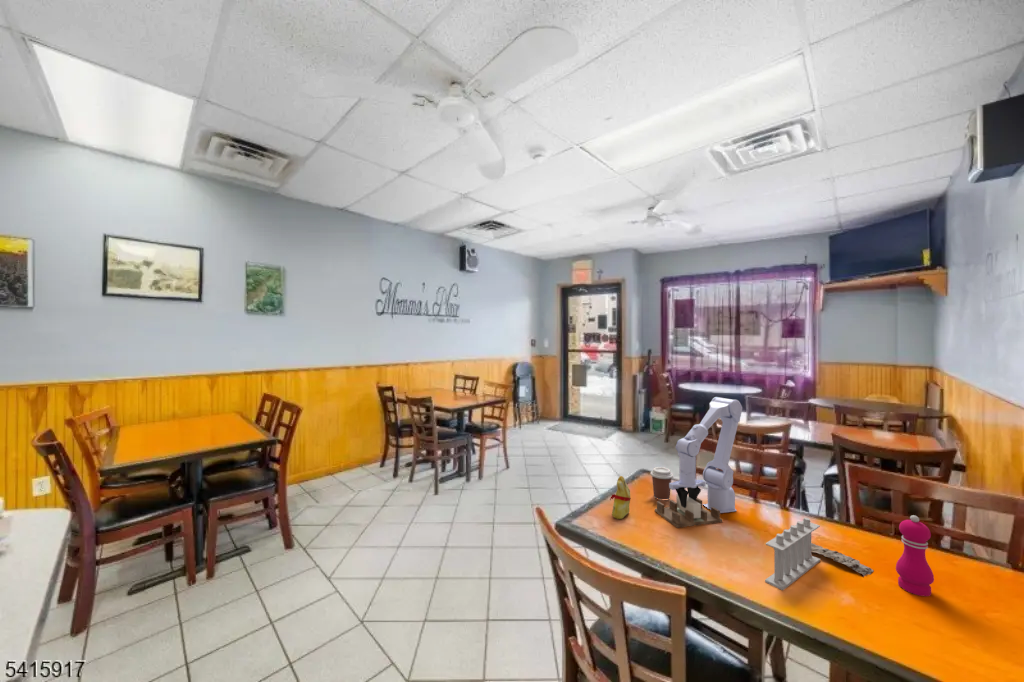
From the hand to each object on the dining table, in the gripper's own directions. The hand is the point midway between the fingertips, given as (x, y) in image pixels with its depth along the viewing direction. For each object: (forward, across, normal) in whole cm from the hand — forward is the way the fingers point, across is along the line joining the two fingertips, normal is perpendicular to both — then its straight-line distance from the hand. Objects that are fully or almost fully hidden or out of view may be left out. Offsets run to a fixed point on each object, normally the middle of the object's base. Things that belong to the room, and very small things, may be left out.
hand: (687, 506), depth 150 cm
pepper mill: (+4, +31, -52) cm, 61 cm away
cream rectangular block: (+2, 0, 0) cm, 2 cm away
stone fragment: (+5, +23, -32) cm, 40 cm away
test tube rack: (+4, +7, -38) cm, 39 cm away
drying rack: (+4, 0, 0) cm, 4 cm away
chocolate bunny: (+4, -24, +8) cm, 26 cm away
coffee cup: (+4, +1, +18) cm, 18 cm away
